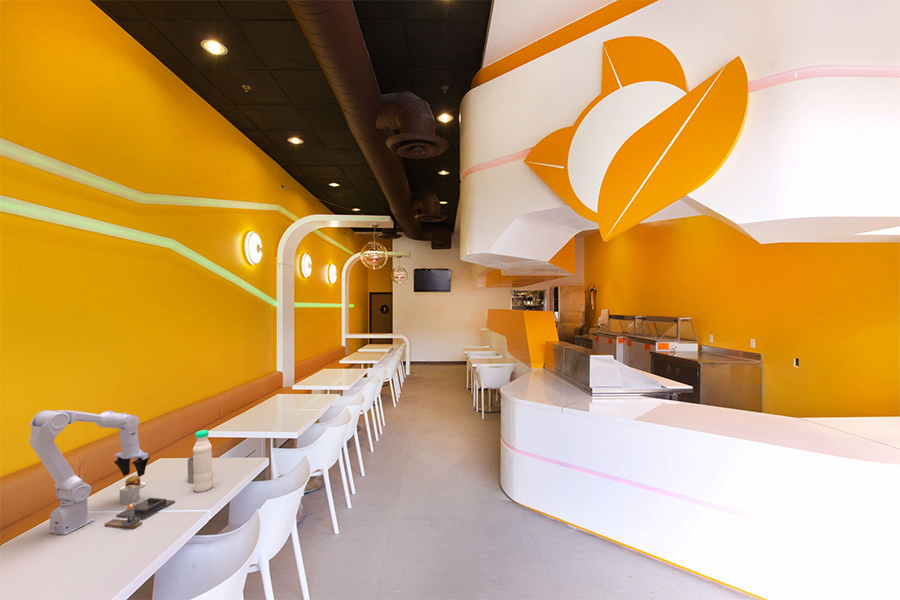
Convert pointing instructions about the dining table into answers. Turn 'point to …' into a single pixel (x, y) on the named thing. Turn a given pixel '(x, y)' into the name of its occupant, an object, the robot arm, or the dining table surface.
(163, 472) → the dining table surface
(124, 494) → the block
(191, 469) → the cup
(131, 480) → the burger on plate
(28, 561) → the dining table surface
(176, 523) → the dining table surface
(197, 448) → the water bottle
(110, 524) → the rail
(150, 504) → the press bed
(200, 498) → the dining table surface
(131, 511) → the lever
